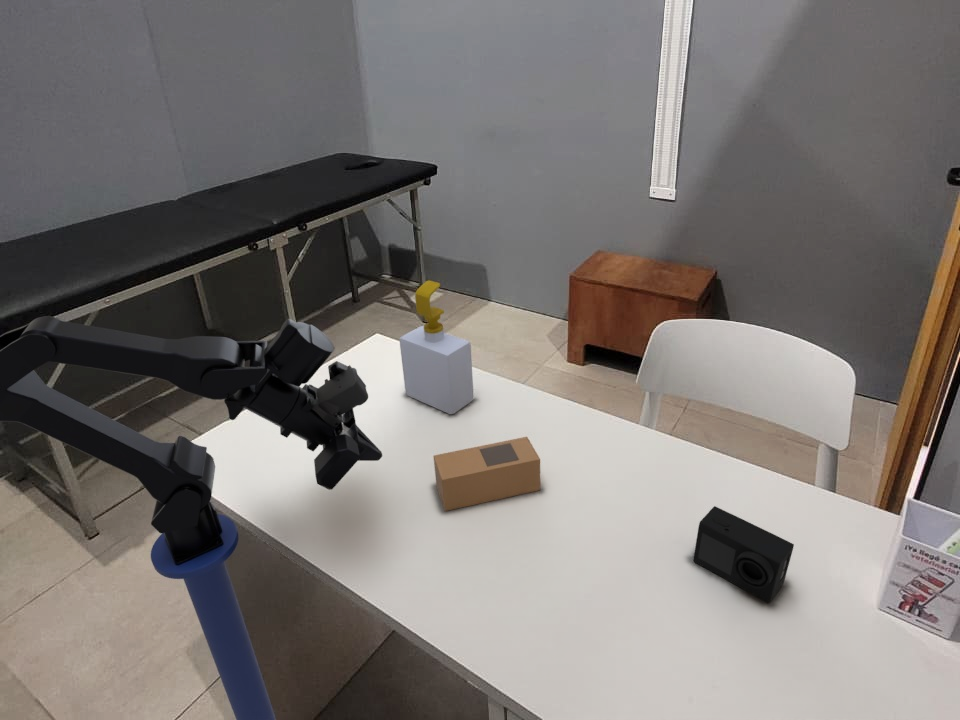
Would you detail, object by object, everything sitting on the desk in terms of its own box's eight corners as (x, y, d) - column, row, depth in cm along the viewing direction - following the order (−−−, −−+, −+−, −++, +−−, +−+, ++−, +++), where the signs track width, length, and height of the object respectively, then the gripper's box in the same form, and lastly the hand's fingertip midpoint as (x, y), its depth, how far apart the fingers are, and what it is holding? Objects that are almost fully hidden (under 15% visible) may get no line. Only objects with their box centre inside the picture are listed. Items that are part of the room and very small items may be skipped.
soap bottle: (475, 400, 122) (468, 285, 111) (452, 416, 118) (443, 298, 106) (427, 381, 129) (417, 270, 118) (404, 395, 125) (391, 282, 113)
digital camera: (687, 566, 85) (693, 526, 82) (707, 543, 89) (713, 504, 85) (765, 610, 79) (775, 569, 75) (783, 583, 82) (794, 543, 79)
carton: (442, 479, 93) (540, 458, 96) (433, 455, 98) (527, 436, 101) (444, 511, 96) (540, 490, 99) (436, 486, 101) (527, 466, 104)
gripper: (330, 397, 75) (430, 455, 83) (320, 329, 91) (405, 383, 98) (272, 464, 77) (375, 515, 85) (272, 386, 93) (359, 435, 101)
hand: (380, 456), depth 92 cm, fingers closed
